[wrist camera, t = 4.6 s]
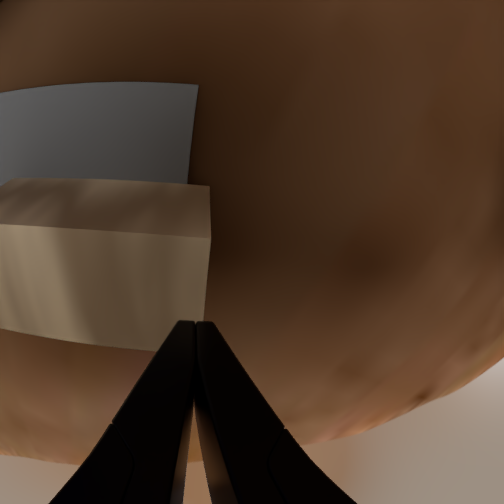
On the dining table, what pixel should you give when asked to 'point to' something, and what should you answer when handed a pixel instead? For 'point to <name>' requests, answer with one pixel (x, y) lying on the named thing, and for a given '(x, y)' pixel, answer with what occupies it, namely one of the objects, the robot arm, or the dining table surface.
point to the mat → (98, 131)
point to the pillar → (102, 259)
